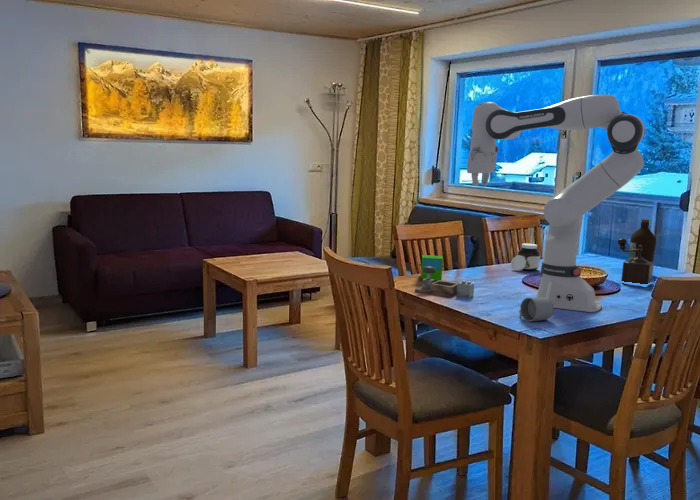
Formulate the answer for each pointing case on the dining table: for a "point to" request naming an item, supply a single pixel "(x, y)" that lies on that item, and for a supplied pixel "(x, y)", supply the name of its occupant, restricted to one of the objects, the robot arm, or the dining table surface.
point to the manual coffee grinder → (636, 266)
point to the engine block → (465, 289)
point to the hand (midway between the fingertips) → (480, 185)
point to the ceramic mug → (536, 309)
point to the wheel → (428, 271)
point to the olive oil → (643, 242)
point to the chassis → (438, 288)
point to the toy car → (432, 262)
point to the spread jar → (526, 258)
